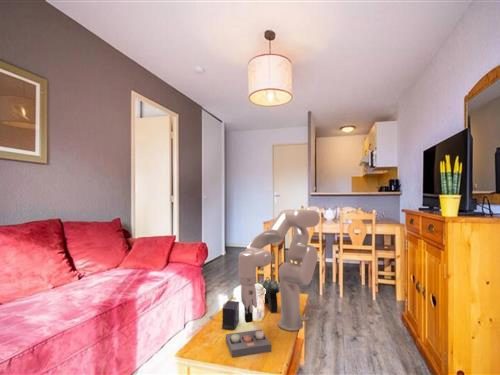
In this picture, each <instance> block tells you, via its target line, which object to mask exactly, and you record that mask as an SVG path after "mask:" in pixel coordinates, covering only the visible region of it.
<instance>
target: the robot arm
mask: <svg viewBox="0 0 500 375" xmlns="http://www.w3.org/2000/svg"><path fill="white" fill-rule="evenodd" d="M320 220H321V216H320V214H319V212H318V211H316V210H314V209H313V210H312V209H311V210H309V209H308V210H307V209H283V210H282V211H281V212H279V214H278V215H277V216H276V218H275V220H274V221H273V222H272V223H271V225H270V226H269V228H268V229H266V230H264V231H263V232H261V233H260V234H258V235H257V236H254V238H253V239H251V241H250V243H249V244H248V245H247V246H246V248H245V250H244V251H241V252H239V254H238V283H239V285H240V294H241V295H240V298H241V303H242V304H243V307H244V321H245V323H246V324H247V323H252V322H254V317H253V313H254V308H255V309H257V308H258V300H257V289H256V284H257V271H256V270H257V268H263V267H267V266H269V265H270V264H271V263H272V260H273V256H272V253H271V252H270V251H269V250H267V249H263V248H265V247H266V246H269V245H272V244H276V243H278V242H281V241H282V240H284V238H285V236H286V235H287V234H288V232H289V231H290V229H291V228H292V230H293V234H292V238H291V241H290V244H289V247H288V250H287V257H288V259H289V260H291V261H293V262H289V261H288V262H287V261H286V262H282V263H281V264H280V266H278V278H279V281H280V284H279V285H280V320H278V322H277V325H278V327H279V328H280V329H281V330H284V331H287V332H295V331H296V332H297V331H300V330H302V329H303V328H304V322H309V321H310V319H309V316H304V315H301V311H300V310H301V307H300V304H301V303H300V302H301V301H300V296H301V295H300V294H301V293H300V288H299V286H303V287H306V286H308V285H309V284H310V283H311V281H312V280H313V276H314V272H315V270H316V269H315V268H316V266H317V262H318V258H319V253H318V249H317V247H315V246H314V245H311V244H308V243H309V239H310V233H309V231H308V229H307V228H315V227H316V226H318V225H319V224H320ZM294 262H296V263H294ZM298 263H301V264H298ZM253 307H254V308H253Z"/></svg>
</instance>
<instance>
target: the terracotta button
mask: <svg viewBox="0 0 500 375" xmlns="http://www.w3.org/2000/svg"><path fill="white" fill-rule="evenodd" d="M249 341H252V337H251V336H250V335H246V336H244V342H249Z"/></svg>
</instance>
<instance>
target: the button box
mask: <svg viewBox="0 0 500 375" xmlns="http://www.w3.org/2000/svg"><path fill="white" fill-rule="evenodd" d="M257 331H263V330H262V329H253V330H248V331H240V332H232V333H225V342H226V344H227V349H228V351H229V354H230V357H231V358H237V357H244V356H250V355H251V356H253V355H258V354H263V353H270V352H272V344H271V342H270V341H269V339H268V337H267V336H266V335H265V333H264V339H263V340H256V332H257ZM233 334H238V335H239V336H240V342H239V343H235V344H232V343H231V336H232V335H233ZM246 335H250V336H251V337H252V341H249V342H244V336H246Z"/></svg>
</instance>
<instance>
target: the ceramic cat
mask: <svg viewBox="0 0 500 375" xmlns="http://www.w3.org/2000/svg"><path fill="white" fill-rule="evenodd" d="M269 276H270V277H269ZM269 276H268V277H266V279H265V280H264V281H263V284H262V288H263V287H264V288H265V289H266V294H265V305H267V304H269V312H270V313H271V314H277V313H278V304H279V303H278V297H277V294H279V293H280V288H279V284H278V282H277V280H276V279H273V275H272V274H271V273H270V275H269ZM270 278H271V279H270Z"/></svg>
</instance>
